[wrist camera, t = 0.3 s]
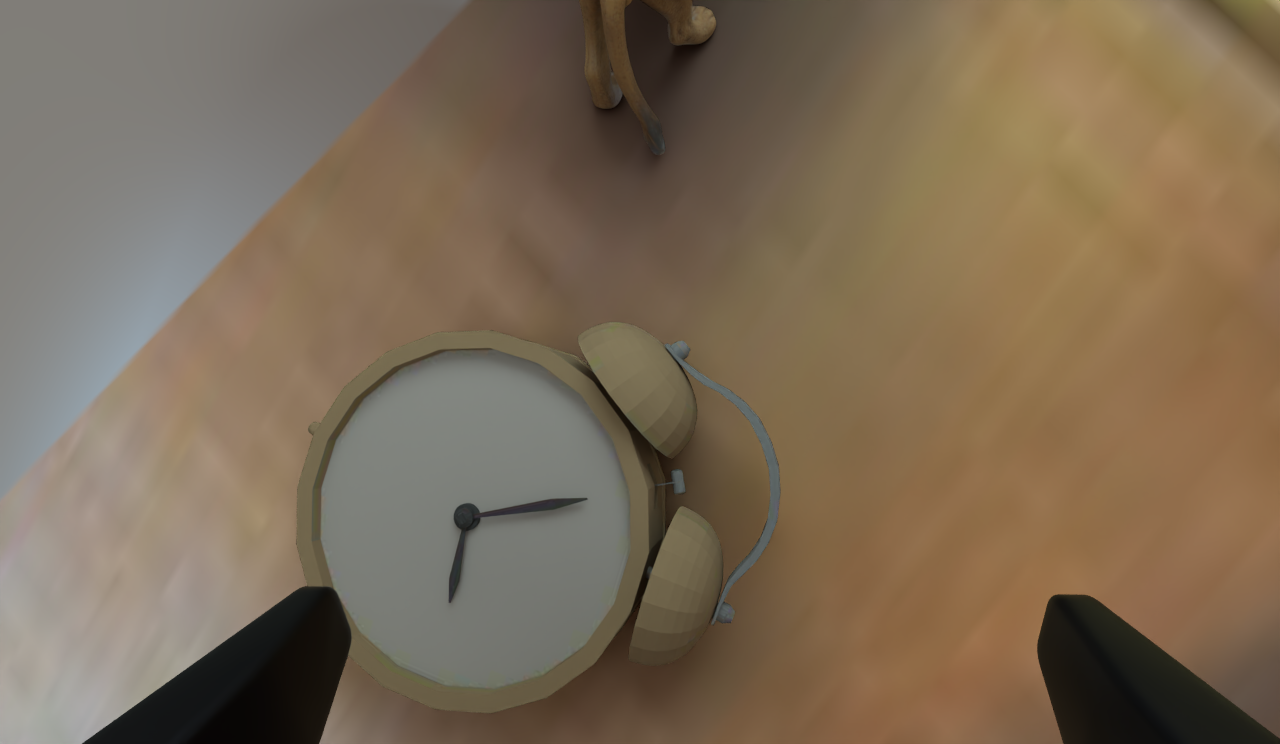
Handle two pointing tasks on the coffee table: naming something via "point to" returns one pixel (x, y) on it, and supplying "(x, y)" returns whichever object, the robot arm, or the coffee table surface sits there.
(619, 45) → the lion figurine
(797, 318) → the coffee table surface
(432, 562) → the alarm clock
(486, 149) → the coffee table surface
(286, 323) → the coffee table surface
